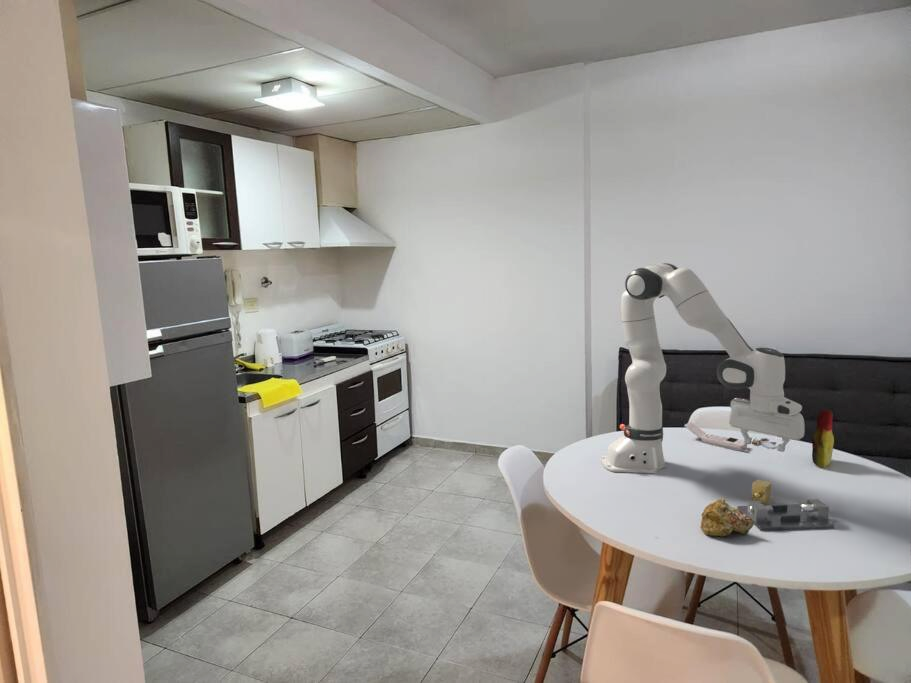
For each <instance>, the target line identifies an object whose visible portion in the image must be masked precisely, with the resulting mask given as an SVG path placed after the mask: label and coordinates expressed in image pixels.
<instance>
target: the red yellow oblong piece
mask: <svg viewBox="0 0 911 683" xmlns="http://www.w3.org/2000/svg"><path fill="white" fill-rule="evenodd" d="M833 417H834V413H833V412H832V411H831V410H830V409H828V408H821V409H820V410H819V411H818V416H817V419H816V420H817V421H816V431H814V434H813V436H812V443H811V444H812V446H811V448H812V453H811V459H812V463H813V464H814V465H815V466H816V467H818V468H825V467H827V466H829V465H830V463H831V461H832V457H833V451H834V445H835V438H834V437H835V436H834V434H833Z"/></svg>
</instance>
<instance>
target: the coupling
mask: <svg viewBox="0 0 911 683" xmlns="http://www.w3.org/2000/svg"><path fill="white" fill-rule="evenodd" d="M772 486H773V485H772V482H770V481H765V480H763V479H762V480H761V479H756V480H755V481H753V482H752V484H751V501H759V502H760V503H761V504H762V505H767V504H768V503H769V502H770V501H771V499H772Z"/></svg>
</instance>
